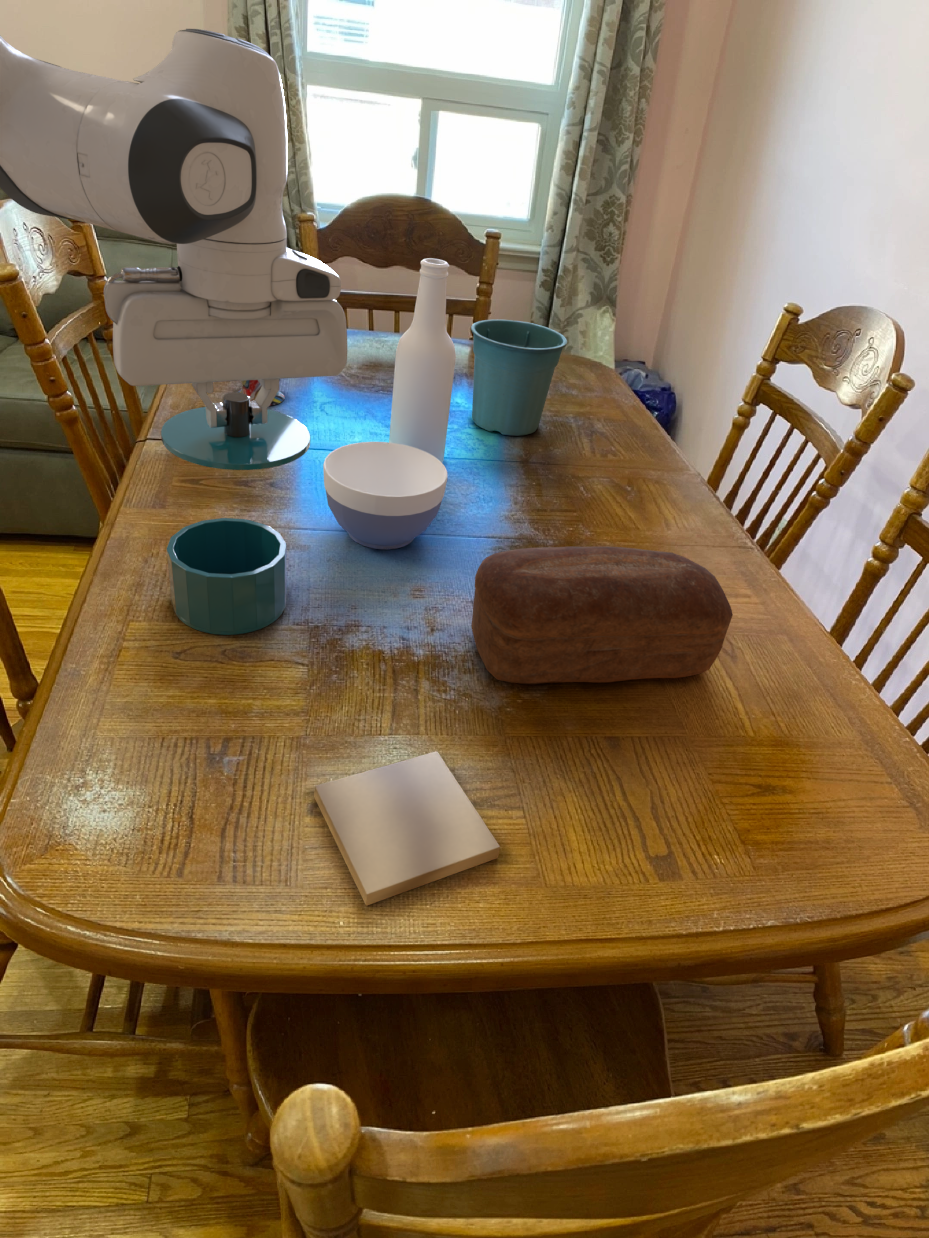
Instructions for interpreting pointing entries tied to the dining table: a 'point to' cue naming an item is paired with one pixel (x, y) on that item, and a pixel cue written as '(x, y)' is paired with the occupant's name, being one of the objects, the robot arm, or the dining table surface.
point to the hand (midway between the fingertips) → (237, 423)
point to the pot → (227, 575)
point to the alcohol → (424, 368)
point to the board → (404, 826)
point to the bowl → (383, 491)
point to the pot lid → (235, 437)
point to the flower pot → (512, 374)
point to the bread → (596, 615)
